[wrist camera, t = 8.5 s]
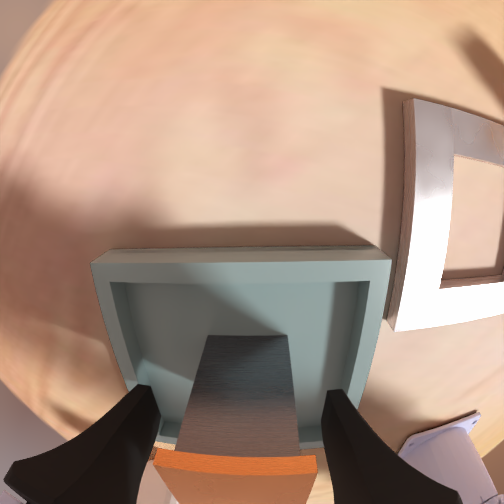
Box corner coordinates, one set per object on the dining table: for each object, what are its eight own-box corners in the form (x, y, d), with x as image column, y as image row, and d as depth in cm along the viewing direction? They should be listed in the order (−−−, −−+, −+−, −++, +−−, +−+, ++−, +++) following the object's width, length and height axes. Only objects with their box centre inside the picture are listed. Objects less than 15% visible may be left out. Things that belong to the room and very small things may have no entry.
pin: (291, 394, 13) (300, 515, 7) (209, 393, 13) (184, 511, 7) (296, 328, 12) (317, 472, 5) (199, 328, 12) (152, 464, 5)
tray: (339, 423, 15) (344, 444, 13) (158, 420, 15) (150, 440, 14) (375, 245, 11) (391, 259, 10) (110, 249, 12) (90, 262, 10)
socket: (510, 301, 12) (519, 308, 11) (386, 320, 12) (394, 331, 11) (531, 142, 9) (542, 143, 8) (402, 102, 9) (413, 98, 8)
